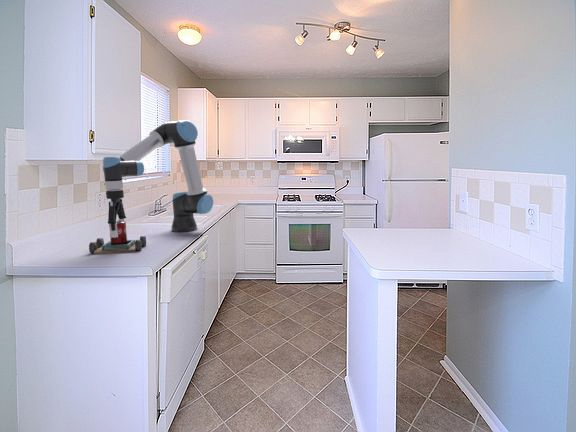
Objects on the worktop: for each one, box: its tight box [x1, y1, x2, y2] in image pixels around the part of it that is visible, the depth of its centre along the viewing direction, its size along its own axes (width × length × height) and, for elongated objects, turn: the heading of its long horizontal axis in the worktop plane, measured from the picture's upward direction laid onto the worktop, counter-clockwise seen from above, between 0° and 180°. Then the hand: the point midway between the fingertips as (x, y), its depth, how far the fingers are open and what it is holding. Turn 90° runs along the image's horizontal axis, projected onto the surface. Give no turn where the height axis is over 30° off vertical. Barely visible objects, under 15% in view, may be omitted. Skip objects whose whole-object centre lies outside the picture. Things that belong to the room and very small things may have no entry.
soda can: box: [108, 220, 128, 245], centre depth 187 cm, size 7×7×12 cm
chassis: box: [88, 235, 147, 255], centre depth 187 cm, size 16×22×5 cm
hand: (118, 234), depth 187 cm, fingers open, 13 cm apart
